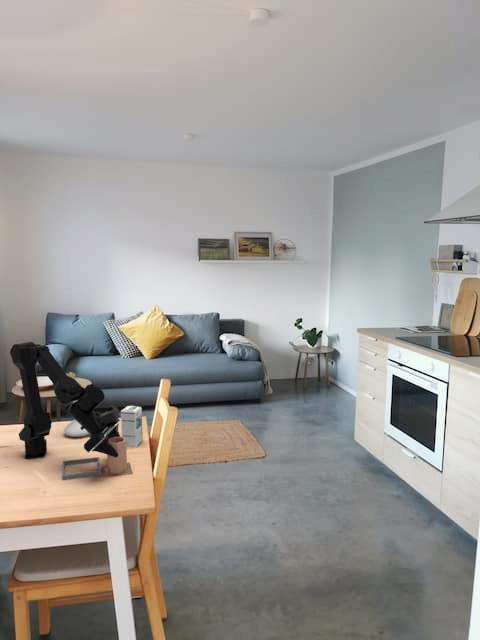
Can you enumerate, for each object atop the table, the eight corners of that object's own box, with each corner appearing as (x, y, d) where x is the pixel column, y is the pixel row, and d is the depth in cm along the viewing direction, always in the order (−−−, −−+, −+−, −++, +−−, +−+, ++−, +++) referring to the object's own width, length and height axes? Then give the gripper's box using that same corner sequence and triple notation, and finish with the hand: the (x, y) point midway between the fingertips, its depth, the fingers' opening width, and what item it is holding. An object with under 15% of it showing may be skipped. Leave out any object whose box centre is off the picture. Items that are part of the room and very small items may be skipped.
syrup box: (136, 450, 181) (136, 411, 179) (121, 448, 182) (120, 410, 180) (142, 444, 187) (142, 406, 185) (127, 442, 188) (127, 405, 186)
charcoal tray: (62, 483, 156) (62, 476, 155) (63, 467, 166) (62, 461, 166) (100, 478, 159) (100, 471, 159) (98, 463, 170) (98, 457, 169)
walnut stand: (103, 480, 158) (103, 465, 157) (102, 468, 166) (101, 454, 165) (133, 476, 160) (132, 461, 160) (130, 465, 169) (129, 450, 168)
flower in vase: (86, 426, 204) (84, 366, 201) (99, 434, 196) (98, 371, 192) (54, 434, 195) (52, 371, 192) (67, 442, 187) (64, 377, 184)
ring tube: (121, 464, 167) (120, 435, 166) (129, 470, 163) (128, 440, 161) (101, 470, 162) (100, 440, 161) (109, 476, 158) (108, 445, 157)
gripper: (92, 410, 151) (129, 446, 152) (113, 392, 169) (145, 425, 170) (68, 434, 153) (104, 470, 153) (90, 414, 171) (123, 446, 172)
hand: (121, 451), depth 162 cm, fingers open, 7 cm apart
